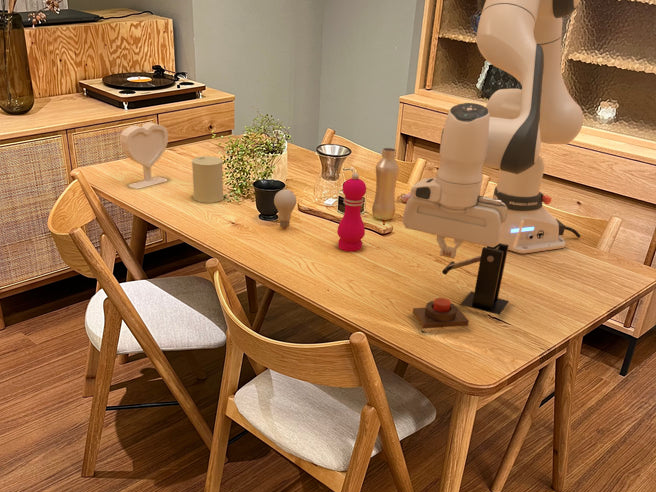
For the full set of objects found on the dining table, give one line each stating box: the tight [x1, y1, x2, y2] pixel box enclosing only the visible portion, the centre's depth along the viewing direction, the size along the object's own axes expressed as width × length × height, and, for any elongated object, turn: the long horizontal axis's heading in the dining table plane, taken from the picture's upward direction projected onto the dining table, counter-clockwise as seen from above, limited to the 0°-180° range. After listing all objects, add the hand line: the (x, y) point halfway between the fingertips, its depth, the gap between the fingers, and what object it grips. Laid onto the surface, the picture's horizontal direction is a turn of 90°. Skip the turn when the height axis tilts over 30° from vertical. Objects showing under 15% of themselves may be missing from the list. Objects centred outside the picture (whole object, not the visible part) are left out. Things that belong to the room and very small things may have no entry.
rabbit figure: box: [396, 191, 412, 204], centre depth 215 cm, size 6×6×15 cm
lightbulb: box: [273, 188, 297, 230], centre depth 193 cm, size 6×6×11 cm
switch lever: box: [441, 246, 501, 275], centre depth 155 cm, size 13×6×2 cm
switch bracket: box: [460, 243, 509, 316], centre depth 155 cm, size 9×8×15 cm
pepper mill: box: [336, 172, 367, 253], centre depth 181 cm, size 7×7×20 cm
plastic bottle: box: [371, 147, 400, 221], centre depth 200 cm, size 6×7×20 cm
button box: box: [412, 300, 469, 334], centre depth 151 cm, size 10×7×4 cm
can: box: [191, 155, 225, 204], centre depth 212 cm, size 9×9×12 cm
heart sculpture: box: [119, 122, 169, 189], centre depth 220 cm, size 16×5×18 cm, turn 138°
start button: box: [433, 297, 452, 312], centre depth 149 cm, size 4×4×2 cm
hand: (447, 256), depth 145 cm, fingers closed
